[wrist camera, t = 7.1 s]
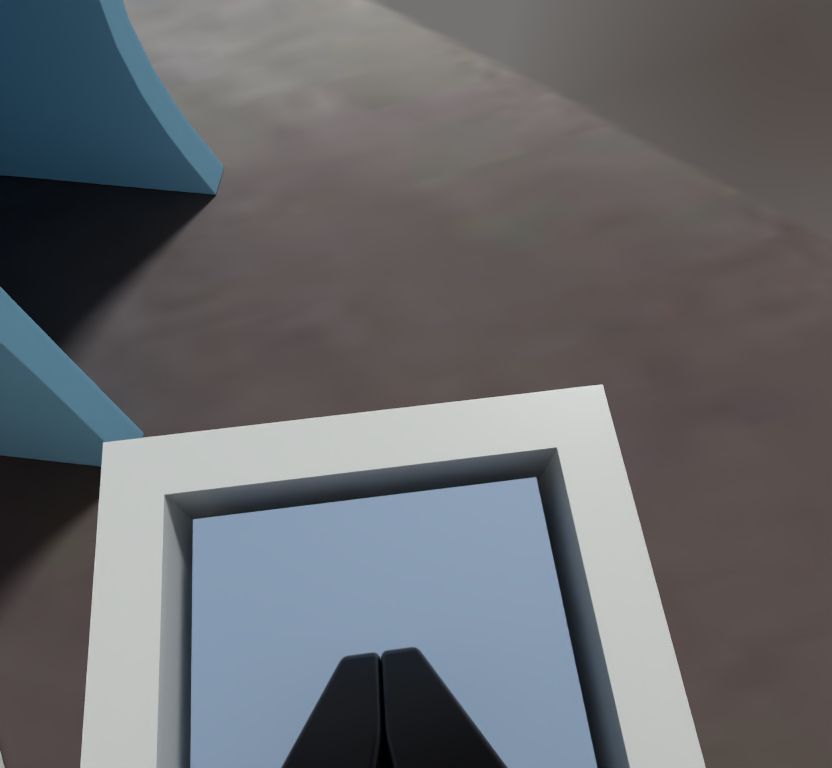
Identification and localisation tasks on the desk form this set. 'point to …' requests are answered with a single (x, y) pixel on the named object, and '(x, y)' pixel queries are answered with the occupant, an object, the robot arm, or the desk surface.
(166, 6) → the desk surface
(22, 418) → the vase
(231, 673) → the blue key
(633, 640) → the keypad
